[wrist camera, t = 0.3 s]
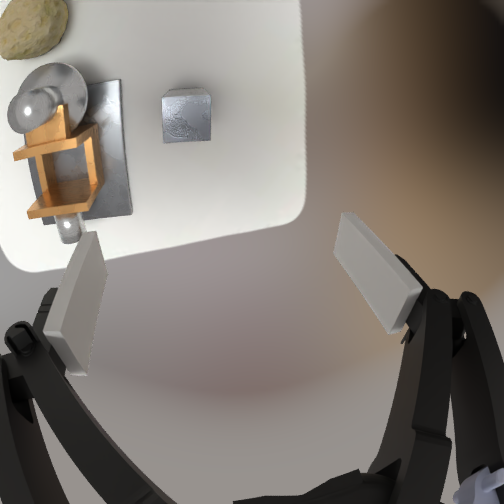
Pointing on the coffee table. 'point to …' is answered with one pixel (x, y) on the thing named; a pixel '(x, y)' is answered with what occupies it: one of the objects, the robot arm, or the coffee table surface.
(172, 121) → the dark gray rectangular block
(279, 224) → the coffee table surface
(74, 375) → the robot arm
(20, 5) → the decorative object
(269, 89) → the coffee table surface
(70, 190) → the multicoloured piece
